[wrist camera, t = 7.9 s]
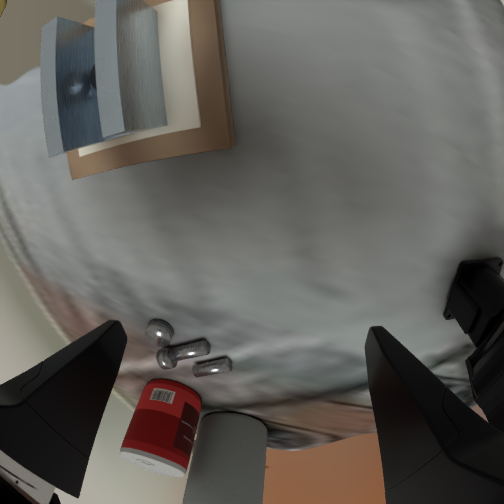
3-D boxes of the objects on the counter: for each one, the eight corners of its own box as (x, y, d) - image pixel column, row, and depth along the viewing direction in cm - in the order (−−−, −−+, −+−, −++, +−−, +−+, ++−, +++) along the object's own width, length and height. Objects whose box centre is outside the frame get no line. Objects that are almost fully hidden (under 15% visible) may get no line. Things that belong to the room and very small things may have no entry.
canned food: (135, 385, 31) (108, 451, 21) (168, 370, 28) (139, 451, 18) (178, 413, 33) (160, 476, 24) (215, 401, 30) (199, 477, 21)
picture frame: (218, -11, 11) (210, -26, 9) (235, 145, 17) (229, 149, 14) (75, 40, 13) (56, 37, 10) (88, 173, 18) (69, 181, 16)
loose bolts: (190, 307, 23) (183, 324, 21) (233, 363, 26) (230, 380, 24) (142, 322, 25) (133, 337, 23) (186, 372, 28) (181, 387, 26)
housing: (167, 125, 14) (124, 131, 10) (100, 143, 15) (49, 157, 10) (157, 11, 10) (117, -17, 6) (91, 38, 11) (42, 27, 6)
